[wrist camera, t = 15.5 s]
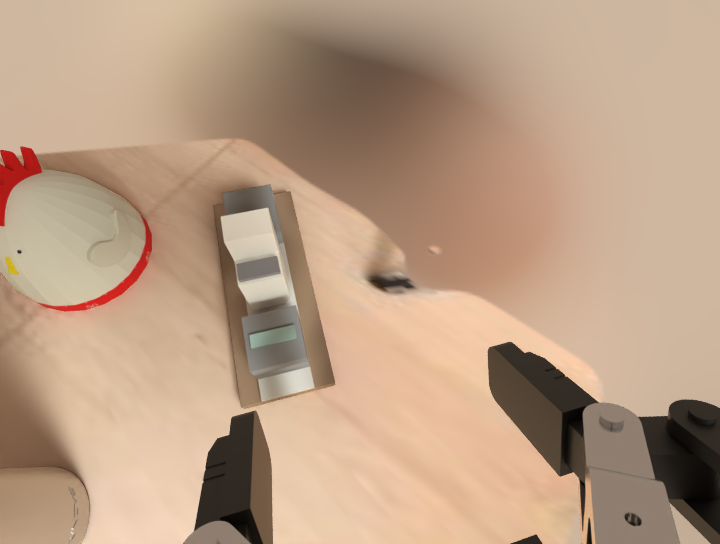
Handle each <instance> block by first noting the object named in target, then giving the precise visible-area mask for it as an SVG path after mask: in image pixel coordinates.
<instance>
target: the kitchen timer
mask: <svg viewBox="0 0 720 544" xmlns="http://www.w3.org/2000/svg"><path fill="white" fill-rule="evenodd" d="M20 148H21V152H22V156H23V159H24V166H23V165H22V164H21V163H20V161H19V160H18V158H17V157H16V155H15V154H14V153H13V152H9V151H4V150H1V151H0V152H1V156H2V158H3V161H4V164H5V167H4V166H3V165H1V164H0V272H1V273H2V274H3V276H4V277H5V278H6V279H7V281H8V282H9V283H10V284H11V285H12V286H13V287H14V288H15V289H16V290H17V291H19V292H20V293H22V294H23V295H25V296H27V297H28V298H30V299H32V300H33V301H35V302H37V303H39V304H41V305H43V306H45V307H47V308H51V309H56V310H61V311H79V310H86V309H90V308H93V307H96V306H100V305H103V304H105V303H107V302H109V301H110V300H112V299H114V298H116V297H117V296H119V295H121V294H122V293H123V292H125V291H126V290H127V289H128V288H129V287H130V286H131V285H132V284H133V283H134V282H135V281H137V279H138V278H139V276H140V275H141V273H142V272H143V270H144V269H145V267H146V266H147V263H148V260H149V257H150V253H151V250H152V235H151V232H150V230H149V227H148V225H147V222H146V221H145V219H144V218H143V217H142V216H141V215H140V213H139V212H138V211H137V210H136V209H135V208H134V207H133V206H132V205H131V204H130V203H129V202H128V201H127V200H126V199H124V198H123V197H121V196H120V195H118V194H116V193H114V192H113V191H111V190H109V189H107V188H105V187H103V186H101V185H99V184H97V183H95V182H94V181H92V180H90V179H88V178H85V177H83V176H80V175H76V174H72V173H67V172H62V171H57V170H48V169H42V170H41V167H40V164H39V162H38V159H37V157H36V155H35V153H34V152H33V150H32V149H31V148H26V147H20Z"/></svg>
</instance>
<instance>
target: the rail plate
mask: <svg viewBox="0 0 720 544" xmlns="http://www.w3.org/2000/svg"><path fill="white" fill-rule="evenodd" d="M223 199H224V204H219V205H214V214H215V221H216V228H217V236H218V243H219V250H220V257H221V265H222V272H223V279H224V287H225V294H226V301H227V309H228V316H229V323H230V331H231V338H232V345H233V352H234V360H235V367H236V374H237V382H238V389H239V396H240V404H241V407H242V408H244V409H246V408H250V407H254V406H257V405H261V404H265V403H269V402H273V401H276V400H280V399H284V398H288V397H292V396H295V395H299V394H303V393H307V392H311V391H314V390H318V389H322V388H326V387H330V386H333V385H335V380H334V376H333V372H332V368H331V363H330V359H329V355H328V350H327V346H326V342H325V338H324V333H323V329H322V325H321V320H320V316H319V312H318V308H317V303H316V299H315V295H314V290H313V286H312V282H311V278H310V273H309V269H308V265H307V260H306V256H305V252H304V248H303V243H302V239H301V235H300V231H299V226H298V222H297V218H296V213H295V209H294V205H293V201H292V196H291V192H290V191H289V192H284V193H278V194H273V192H272V189H271V185H265V186H259V187H254V188H248V189H243V190H237V191H232V192H226V193H223ZM264 208H268V209H269V213H270V216H271V220H272V223H273V226H274V230H275V233H276V237H277V240H278V244H279V247H280V250H281V254H282V257H283V261H284V266H285V271H286V276H287V281H288V286H289V291H290V295H291V300H292V302H288V303H284V304H280V305H275V306H271V307H266V308H262V309H258V310H252V308H251V307H250V305H249V303H248V302H247V300H246V298H245V297H244V295H243V293H242V292H241V290H240V288H239V287H238V282H237V275H236V269H235V262H234V259H233V258H232V256H231V254H230V252H229V250H228V248H227V247H226V245H225V243H224V238H223V231H222V224H221V216H227V215H232V214H237V213H242V212H248V211H253V210H258V209H264Z"/></svg>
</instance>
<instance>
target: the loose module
mask: <svg viewBox="0 0 720 544" xmlns="http://www.w3.org/2000/svg"><path fill="white" fill-rule="evenodd" d="M221 224H222V231H223V238H224V243H225V245H226V247H227V248H228V250H229V252H230V254H231V256H232V258H233V259H234V262H235V269H236V275H237V282H238V287H239V288H240V290H241V292H242V293H243V295H244V297H245V298H246V300H247V302H248V303H249V305H250V307H251V308H252V310H258V309H262V308H266V307H271V306H275V305H280V304H284V303H288V302H292V300H291V295H290V291H289V286H288V281H287V276H286V271H285V266H284V261H283V257H282V254H281V250H280V247H279V244H278V240H277V237H276V233H275V230H274V226H273V223H272V220H271V216H270V213H269V209H268V208H264V209H258V210H253V211H248V212H242V213H237V214H232V215H227V216H221Z"/></svg>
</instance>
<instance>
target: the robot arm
mask: <svg viewBox="0 0 720 544" xmlns="http://www.w3.org/2000/svg"><path fill="white" fill-rule="evenodd" d="M488 370H489V386H490V390H491V393H492V395H493V397H494V399H495V401H496V402H497V403H498V405H499V406H500V407H501V408H502V409H503V410H504V412H505V413H506V414H507V415H508V416H509V417H510V419H511V420H512V421H513V422H514V423H515V425H516V426H517V427H518V428H519V429H520V430H521V432H522V433H523V434H524V435H525V436H526V437H527V439H528V440H529V441H530V442H531V443H532V445H533V446H534V447H535V448H536V449H537V450H538V452H539V453H540V454H541V455H542V456H543V457H544V459H545V460H546V461H547V462H548V463H549V465H550V466H551V467H552V468H553V469H554V470H555V472H556V473H557V474H558V475H559V476H563V475H566V474H569V473H572V472H574V473H575V474H576V475H577V476H578V478H579V484H578V489H579V509H580V529H581V544H680V542H679V537H678V534H677V530H676V526H675V522H674V519H673V515H672V511H671V507H670V504H669V502H670V503H671V504H672V505H673V506H674V507H675V508H676V509H677V510H678V511H679V512H680V513H681V514H682V515H683V516H684V517H685V518H686V519H687V520H688V521H689V522H690V523H691V524H692V525H693V526H694V527H695V528H696V529H697V530H698V531H699V532H700V533H701V534H702V535H703V536H704V537H705V538H706V539H707V540H708V541H709V542H710V543H711V544H720V408H718V407H716V406H714V405H712V404H708V403H706V402H702V401H697V400H679V401H676V402H674V403H672V404H671V405H670V407H669V411H668V416H660V417H659V416H656V417H637V416H636V415H635V414H634V413H632V412H631V411H629V410H628V409H626V408H624V407H621V406H619V405H615V404H611V403H599V402H597V401H596V400H595V399H594V398H593V397H591V396H590V395H589V394H588V393H586V392H585V391H584V390H583V389H582V388H580V387H579V386H578V385H577V384H575V383H574V382H573V381H572V380H571V379H569V378H568V377H565V375H564V374H563V373H562V372H561V371H560V370H558V369H556V367H555V366H553V365H552V364H551V363H550V362H548V361H547V360H546V359H545V358H543V357H540V356H538V355H536V354H533V353H531V352H527V353H524V352H523V351H522V350H520V349H519V348H518V347H517V346H516V345H515V344H513V343H512V342H507V343H503V344H500V345H496V346H493V347H490V348H489V349H488ZM203 480H204V483H203V484H202V490H201V496H200V501H199V507H198V512H197V518H196V524H195V529H194V532H193V533H192V534H191V535H190V536H189V537H188V538H187V539H186V540H185V542H184V543H183V544H273V526H272V468H271V458H270V453H269V448H268V445H267V442H266V439H265V435H264V432H263V429H262V426H261V423H260V420H259V416H258V414H257V412H256V411H252V412H248V413H245V414H241V415H237V416H234V417H232V419H231V425H230V434H229V435H228V436H224V437H221V438H217V440H216V441H215V443H214V444H213V446H212V448H211V449H210V451H209V452H208V456H207V462H206V470H205V473H204V479H203ZM89 512H90V509H89V498H88V495H87V493H86V490H85V487H84V486H83V484H82V483H81V481H80V480H79V479H78V478H77V477H76V476H75V475H74V474H73V473H71V472H69V471H67V470H65V469H63V468H57V467H27V468H0V544H81V543H82V541H83V539H84V536H85V533H86V530H87V526H88V521H89ZM511 544H542V542H541V541H540V539H539V538H538V536H537V535H533V536H531V537H528V538H525V539H522V540H519V541H517V542H514V543H511Z"/></svg>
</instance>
